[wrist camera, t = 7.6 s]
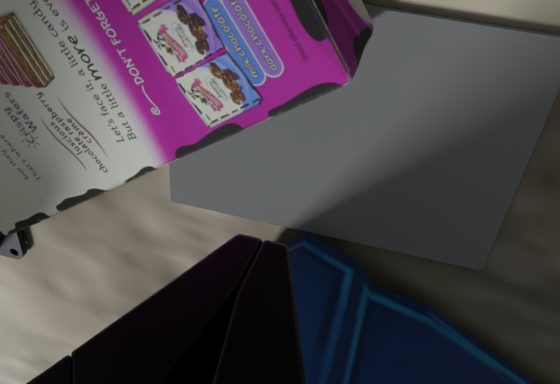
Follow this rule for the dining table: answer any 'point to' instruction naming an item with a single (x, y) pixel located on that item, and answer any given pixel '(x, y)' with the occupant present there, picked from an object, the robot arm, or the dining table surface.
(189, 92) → the candy bar box
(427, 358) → the book
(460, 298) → the dining table surface
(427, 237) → the mat
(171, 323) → the robot arm
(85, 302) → the dining table surface
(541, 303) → the dining table surface
